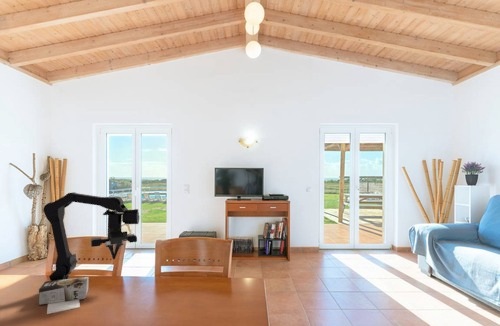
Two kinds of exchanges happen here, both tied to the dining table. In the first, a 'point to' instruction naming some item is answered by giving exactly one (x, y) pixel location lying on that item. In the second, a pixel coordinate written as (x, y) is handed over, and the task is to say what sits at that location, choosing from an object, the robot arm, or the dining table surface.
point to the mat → (62, 306)
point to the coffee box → (63, 290)
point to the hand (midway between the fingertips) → (113, 259)
